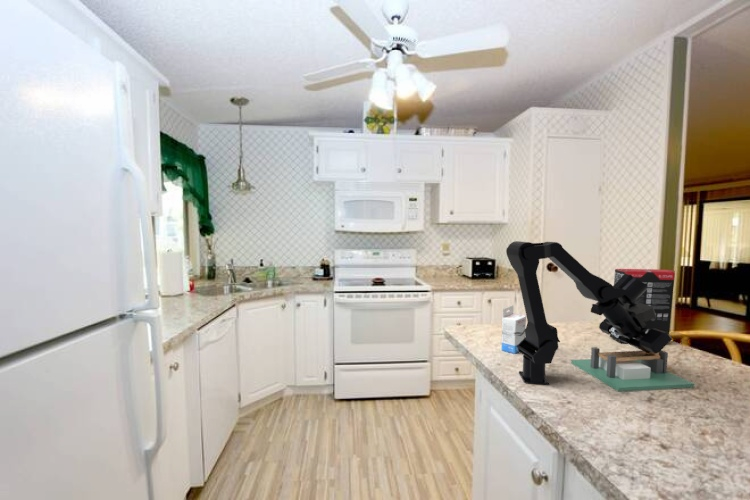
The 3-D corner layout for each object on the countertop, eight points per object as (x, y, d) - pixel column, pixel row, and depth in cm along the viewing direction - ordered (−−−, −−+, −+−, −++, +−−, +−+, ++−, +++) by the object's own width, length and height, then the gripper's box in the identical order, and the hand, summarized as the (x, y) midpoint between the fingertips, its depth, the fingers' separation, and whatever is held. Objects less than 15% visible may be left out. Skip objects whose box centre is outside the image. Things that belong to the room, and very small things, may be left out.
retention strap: (608, 361, 93) (609, 349, 93) (597, 355, 97) (598, 344, 97) (660, 359, 95) (661, 347, 95) (647, 353, 99) (648, 342, 99)
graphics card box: (657, 339, 126) (661, 268, 124) (671, 345, 119) (676, 270, 117) (609, 337, 128) (612, 267, 125) (620, 344, 121) (624, 270, 119)
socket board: (618, 391, 86) (619, 365, 86) (571, 363, 104) (572, 341, 104) (694, 387, 89) (696, 361, 88) (635, 360, 106) (636, 338, 106)
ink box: (515, 354, 112) (516, 311, 110) (500, 350, 115) (502, 308, 114) (525, 348, 117) (526, 307, 116) (511, 344, 121) (512, 304, 120)
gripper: (668, 302, 86) (702, 344, 88) (610, 288, 104) (639, 323, 106) (638, 332, 85) (672, 373, 87) (585, 313, 104) (615, 347, 106)
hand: (648, 351), depth 97 cm, fingers closed, pressing on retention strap
